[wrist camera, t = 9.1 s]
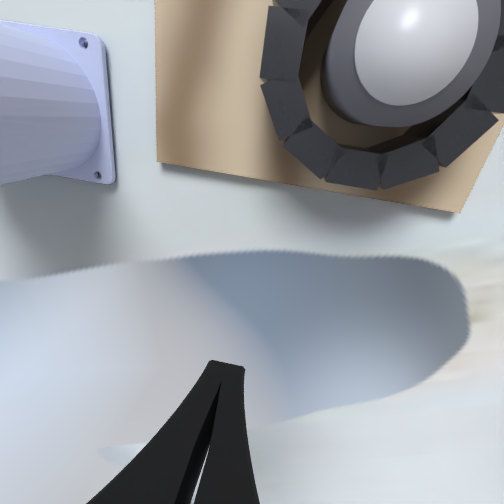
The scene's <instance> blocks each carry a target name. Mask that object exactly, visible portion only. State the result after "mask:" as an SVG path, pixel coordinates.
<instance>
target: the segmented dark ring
mask: <svg viewBox="0 0 504 504" xmlns="http://www.w3.org/2000/svg"><path fill="white" fill-rule="evenodd" d="M332 1H333V0H272V2H273V6H268V14H267V22H266V30H265V38H264V46H263V53H262V61H261V69H260V77H259V78H260V79H261V80H262V81H263V83H264V84H261V85H260V86H261V89H262V92H263V95H264V98H265V101H266V104H267V107H268V110H269V113H270V116H271V119H272V122H273V125H274V128H275V131H276V134H277V137H278V140H279V141H281V140H283V139H285V138H287V139H286V140H285V142H284V144H283V147H284V148H285V149H286V150H287V151H288V152H290V153H291V154H292V155H293V156H294V157H295V158H296V159H298V160H299V161H300V162H301V163H302V164H303V165H304V166H306V167H307V168H308V169H309V170H310V171H311V172H312V173H314V174H315V175H316V176H317V177H318V178H319V179H322V178H323V177H324V179H325V181H326V182H328V183H334V184H340V185H346V186H352V187H358V188H363V189H369V190H375V191H377V189H378V187H380V188H381V189H382V190H385V189H388V188H391V187H394V186H397V185H400V184H403V183H406V182H409V181H412V180H416V179H419V178H422V177H425V176H428V175H431V174H434V173H437V172H440V171H439V166H441V167H445V168H446V167H447V166H449V165H450V164H451V163H452V162H453V161H454V160H455V159H456V158H458V157H459V156H460V155H461V154H462V153H463V152H464V151H465V150H467V149H468V148H469V147H470V146H471V145H472V144H473V143H474V142H476V141H477V140H478V139H479V138H480V137H481V136H482V135H483V134H484V133H486V132H487V131H488V130H489V129H490V128H491V127H492V126H493V125H495V124H496V123H497V122H498V121H499V120H498V119H497V118H496V117H495V116H494V115H493V114H504V0H501V17H500V26H499V30H498V34H497V39H496V42H495V45H494V47H493V50H492V53H491V55H490V57H489V59H488V61H487V63H486V65H485V67H484V69H483V70H482V72H481V74H480V75H479V77H478V78H477V79H476V81H475V82H474V84H473V85H472V86H471V87H470V88H469V89H468V91H467V92H466V93H465V94H464V95H463V96H462V97H461V98H460V99H459V100H458V101H457V102H456V103H454V104H453V105H452V106H450V107H449V108H448V109H446V110H445V111H443V112H442V113H440V114H439V115H437V116H435V117H433V118H431V119H429V120H427V121H424V122H421V123H418V124H415V125H412V126H411V127H410V128H409V129H408V130H407V131H406V132H405V133H404V134H403V135H401V136H398V137H395V138H393V139H390V140H387V141H385V142H382V143H379V144H377V145H374V146H371V147H369V148H363V147H356V146H350V145H344V144H338V143H336V142H335V141H333V140H332V139H331V138H330V137H329V136H328V135H327V134H326V133H325V132H324V131H322V130H321V129H320V128H319V127H318V126H317V125H316V124H315V123H314V122H313V121H312V120H311V118H310V114H309V111H308V107H307V104H306V100H305V97H304V94H303V90H302V87H301V83H300V80H299V73H300V68H301V62H302V57H303V51H304V46H305V40H306V39H307V37H308V36H309V34H310V33H311V32H312V30H313V29H314V27H315V26H316V24H317V23H318V21H319V20H320V19H321V17H322V16H323V14H324V13H325V11H326V10H327V8H328V7H329V6H330V4H331V3H332Z"/></svg>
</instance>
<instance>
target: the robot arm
mask: <svg viewBox="0 0 504 504" xmlns="http://www.w3.org/2000/svg"><path fill="white" fill-rule="evenodd" d="M85 39H86V40H87V42H88V47H87V48H86V49H85V47H84V41H85ZM98 172H99V173H100V174H101V176H102V177H101V178H100V177H99V176H98ZM47 174H50V175H56V176H62V177H67V178H73V179H78V180H84V181H90V182H95V183H101V184H111V183H113V182H114V181H115V165H114V152H113V140H112V127H111V115H110V102H109V90H108V77H107V65H106V52H105V45H104V42H103V40H102V39H101V38H100V37H99V36H98V35H95V34H93V33H88V32H81V31H74V30H66V29H59V28H52V27H45V26H38V25H31V24H24V23H17V22H10V21H3V20H0V185H2V184H6V183H11V182H15V181H20V180H24V179H29V178H33V177H38V176H42V175H47ZM244 374H245V369H244V367H243V366H238V365H233V364H228V363H224V362H219V361H215V360H211V361H209V362H208V364H207V366H206V368H205V370H204V372H203V373H202V375H201V376H200V378H199V379H198V381H197V383H196V384H195V385H194V387H193V388H192V390H191V391H190V392H189V394H188V395H187V396H186V398H185V399H184V400H183V402H182V403H181V405H180V406H179V407H178V408H177V410H176V411H175V412H174V414H173V415H172V416H171V417H170V418H169V419H168V421H167V422H166V423H165V424H164V425H163V427H162V428H161V429H160V430H159V431H158V433H157V434H156V435H155V436H154V437H153V438H152V439H151V440H150V442H149V443H148V444H147V445H146V446H145V447H144V448H143V449H142V450H141V451H140V452H139V453H138V454H137V456H136V457H135V458H134V459H133V460H132V461H131V462H130V463H129V464H128V465H127V466H126V467H125V468H124V469H123V470H122V471H121V472H120V473H119V474H118V475H117V476H116V477H115V478H114V479H113V480H112V481H111V482H110V483H108V484H107V485H106V486H105V487H104V488H103V489H102V490H101V491H100V492H99V493H98V494H97V495H96V496H94V497H93V498H92V499H91V500H90V501H89V502H88V503H87V504H190V503H191V500H192V496H193V493H194V490H195V487H196V484H197V481H198V478H199V475H200V472H201V469H202V466H203V463H204V460H205V457H206V454H207V451H208V448H209V451H208V455H207V458H206V462H205V466H204V469H203V473H202V476H201V480H200V484H199V487H198V491H197V494H196V498H195V501H194V504H260V503H259V498H258V494H257V489H256V484H255V479H254V474H253V469H252V463H251V458H250V451H249V445H248V438H247V430H246V420H245V410H244ZM209 445H210V447H209Z"/></svg>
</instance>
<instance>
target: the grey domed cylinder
mask: <svg viewBox="0 0 504 504" xmlns="http://www.w3.org/2000/svg"><path fill="white" fill-rule="evenodd" d="M500 17H501V0H347V2H346V4H345V6H344V8H343V11H342V13H341V15H340V17H339V20H338V22H337V24H336V27H335V29H334V31H333V33H332V36H331V38H330V40H329V43H328V45H327V47H326V50H325V53H324V56H323V60H322V65H321V87H322V91H323V94H324V97H325V100H326V102H327V103H328V105H329V107H330V108H331V109H332V111H333V112H334V113H335V114H336V115H338V116H339V117H340V118H342V119H343V120H345V121H347V122H350V123H353V124H358V125H369V126H382V127H406V126H411V125H415V124H418V123H421V122H424V121H427V120H429V119H431V118H433V117H435V116H437V115H439V114H440V113H442V112H443V111H445V110H446V109H448V108H449V107H450V106H452V105H453V104H454V103H456V102H457V101H458V100H459V99H460V98H461V97H462V96H463V95H464V94H465V93H466V92H467V91H468V89H469V88H470V87H471V86H472V85H473V84H474V82H475V81H476V79H477V78H478V77H479V75H480V74H481V72H482V70H483V69H484V67H485V65H486V63H487V61H488V59H489V57H490V55H491V53H492V50H493V47H494V45H495V42H496V39H497V34H498V30H499V26H500Z"/></svg>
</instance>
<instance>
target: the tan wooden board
mask: <svg viewBox="0 0 504 504" xmlns="http://www.w3.org/2000/svg"><path fill="white" fill-rule="evenodd" d="M346 2H347V0H333V1H332V3H331V4H330V6H329V7H328V8H327V10H326V11H325V13H324V14H323V16H322V17H321V19H320V20H319V21H318V23H317V24H316V26H315V27H314V29H313V30H312V32H311V33H310V34H309V36H308V37H307V39H306V40H305V46H304V51H303V57H302V62H301V68H300V73H299V80H300V83H301V87H302V90H303V94H304V97H305V100H306V104H307V107H308V111H309V114H310V118H311V120H312V121H313V122H314V123H315V124H316V125H317V126H318V127H319V128H320V129H321V130H322V131H324V132H325V133H326V134H327V135H328V136H329V137H330V138H331V139H332V140H333V141H335V142H336V143H338V144H344V145H350V146H356V147H363V148H369V147H371V146H374V145H377V144H379V143H382V142H385V141H387V140H390V139H393V138H395V137H398V136H401V135H403V134H404V133H405V132H406V131H407V130H408V129H409V128H410V127H411V126H412V125H411V126H406V127H382V126H369V125H358V124H353V123H350V122H347V121H345V120H343V119H342V118H340V117H339V116H338V115H336V114H335V113H334V112H333V111H332V109H331V108H330V107H329V105H328V103H327V102H326V100H325V97H324V94H323V91H322V87H321V65H322V60H323V56H324V53H325V50H326V47H327V45H328V43H329V40H330V38H331V36H332V33H333V31H334V29H335V27H336V24H337V22H338V20H339V17H340V15H341V13H342V11H343V8H344V6H345V4H346ZM268 6H273V2H272V0H155V68H156V138H157V162H161V163H167V164H173V165H179V166H185V167H191V168H197V169H203V170H208V171H214V172H220V173H226V174H232V175H238V176H244V177H250V178H256V179H261V180H267V181H273V182H279V183H285V184H291V185H297V186H303V187H308V188H314V189H320V190H326V191H332V192H338V193H344V194H350V195H356V196H361V197H367V198H373V199H379V200H385V201H391V202H397V203H403V204H409V205H414V206H420V207H426V208H432V209H438V210H444V211H450V212H456V213H460V212H461V210H462V208H463V206H464V204H465V202H466V200H467V198H468V196H469V194H470V192H471V190H472V188H473V186H474V184H475V182H476V180H477V178H478V176H479V174H480V172H481V170H482V168H483V166H484V164H485V162H486V160H487V158H488V155H489V153H490V151H491V149H492V147H493V145H494V143H495V141H496V139H497V137H498V135H499V133H500V131H501V129H502V127H503V125H504V114H493V115H494V116H495V117H496V118H497V119H498V120H499V121H498V122H497V123H496V124H495V125H493V126H492V127H491V128H490V129H489V130H488V131H487V132H486V133H484V134H483V135H482V136H481V137H480V138H479V139H478V140H477V141H476V142H474V143H473V144H472V145H471V146H470V147H469V148H468V149H467V150H465V151H464V152H463V153H462V154H461V155H460V156H459V157H458V158H456V159H455V160H454V161H453V162H452V163H451V164H450V165H449V166H447V167H446V168H445V167H441V166H439V171H440V172H437V173H434V174H431V175H428V176H425V177H422V178H419V179H416V180H412V181H409V182H406V183H403V184H400V185H397V186H394V187H391V188H388V189H385V190H382V189H381V188H380V187H378V189H377V191H375V190H369V189H363V188H358V187H352V186H346V185H340V184H334V183H328V182H326V181H325V179H324V177H323V178H322V179H319V178H318V177H317V176H316V175H315V174H314V173H312V172H311V171H310V170H309V169H308V168H307V167H306V166H304V165H303V164H302V163H301V162H300V161H299V160H298V159H296V158H295V157H294V156H293V155H292V154H291V153H290V152H288V151H287V150H286V149H285V148H284V147H283V144H284V142H285V140H286V139H287V138H285V139H283V140H281V141H279V140H278V137H277V134H276V131H275V128H274V125H273V122H272V119H271V116H270V113H269V110H268V107H267V104H266V101H265V98H264V95H263V92H262V89H261V86H260V85H261V84H264V83H263V81H262V80H261V79H260V78H259V77H260V69H261V61H262V53H263V46H264V38H265V30H266V22H267V14H268Z"/></svg>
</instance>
